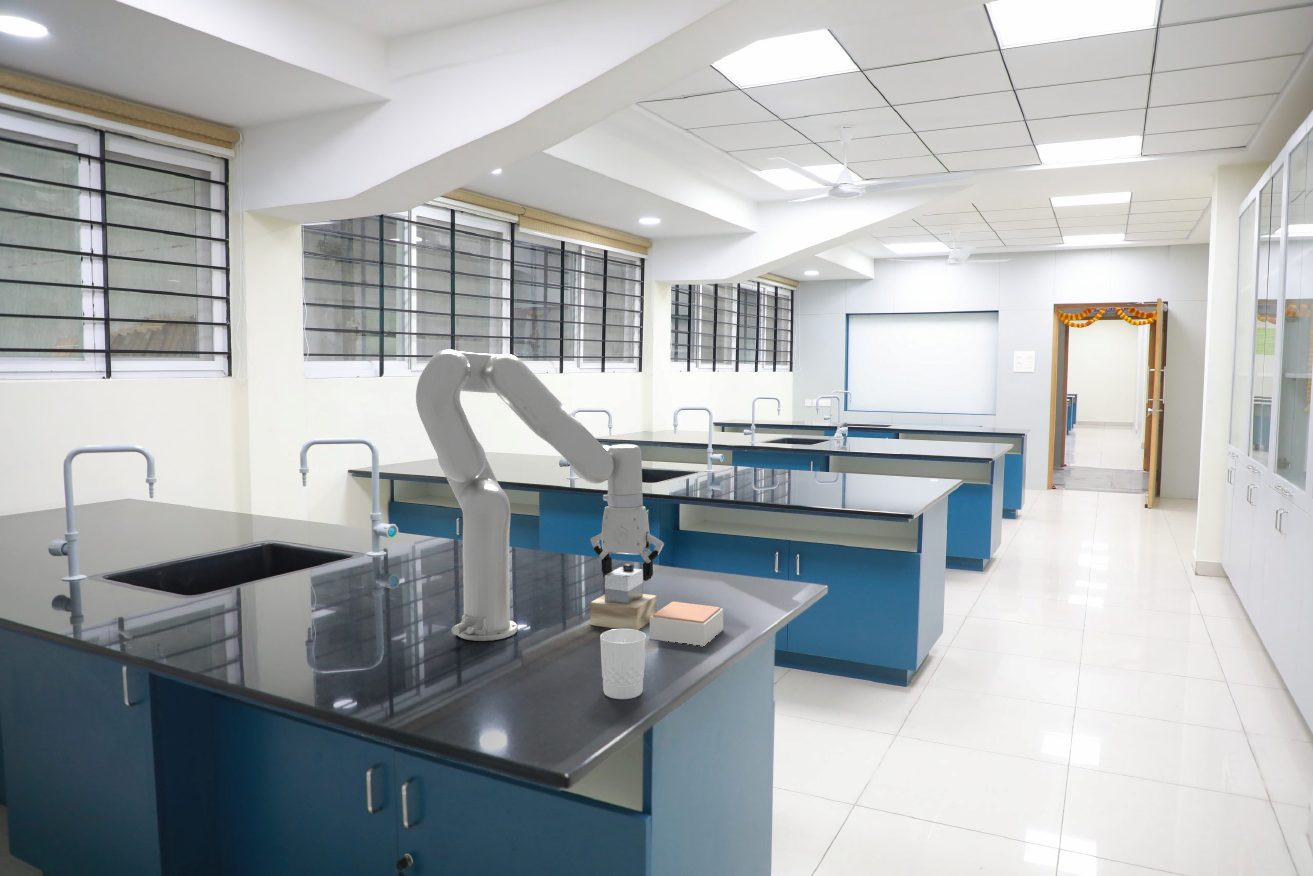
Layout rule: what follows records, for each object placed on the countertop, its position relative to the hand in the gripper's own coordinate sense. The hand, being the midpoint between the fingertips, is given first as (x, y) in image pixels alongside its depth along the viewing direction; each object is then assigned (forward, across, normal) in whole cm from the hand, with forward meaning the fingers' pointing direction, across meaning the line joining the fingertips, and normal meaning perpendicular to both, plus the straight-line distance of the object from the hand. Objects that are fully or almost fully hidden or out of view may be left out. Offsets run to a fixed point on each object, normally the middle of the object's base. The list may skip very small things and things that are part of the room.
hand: (627, 577), depth 184 cm
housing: (+5, -1, 0) cm, 5 cm away
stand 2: (+10, +15, -4) cm, 19 cm away
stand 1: (+10, -1, -1) cm, 10 cm away
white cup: (+10, +16, -38) cm, 42 cm away
